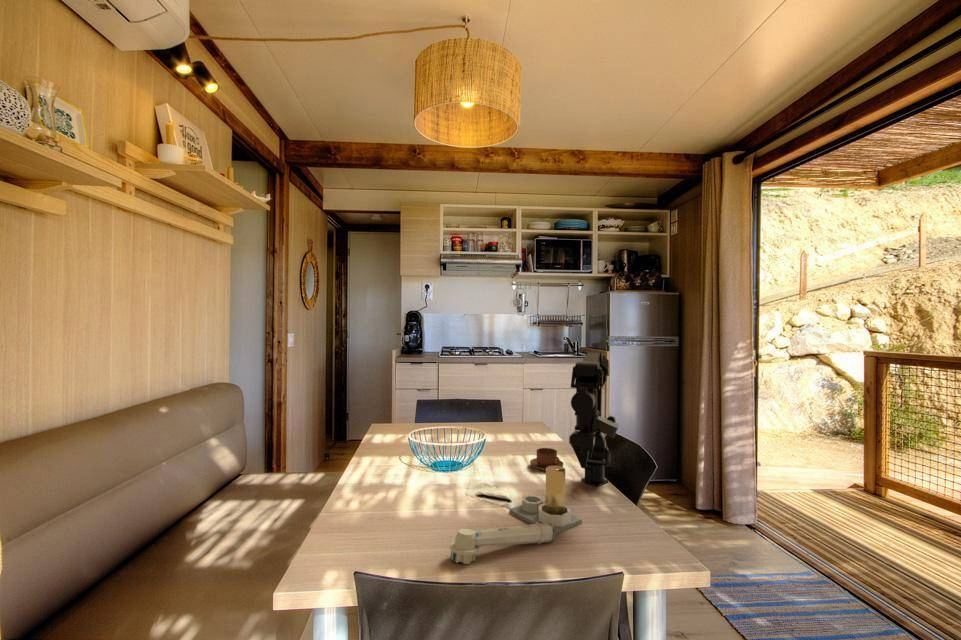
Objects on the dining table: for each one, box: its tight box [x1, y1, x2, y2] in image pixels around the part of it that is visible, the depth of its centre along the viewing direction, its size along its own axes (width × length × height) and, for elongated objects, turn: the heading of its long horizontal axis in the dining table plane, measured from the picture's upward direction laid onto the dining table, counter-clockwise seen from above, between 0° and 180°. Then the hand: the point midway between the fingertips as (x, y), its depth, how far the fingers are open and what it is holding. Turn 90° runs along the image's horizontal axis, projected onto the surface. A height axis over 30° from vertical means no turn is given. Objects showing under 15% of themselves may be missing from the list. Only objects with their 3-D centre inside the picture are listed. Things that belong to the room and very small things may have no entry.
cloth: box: [465, 477, 513, 509], centre depth 132 cm, size 26×14×2 cm, turn 13°
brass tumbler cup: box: [544, 466, 566, 515], centre depth 112 cm, size 5×5×13 cm
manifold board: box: [508, 494, 583, 536], centre depth 114 cm, size 11×16×4 cm
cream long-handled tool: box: [449, 522, 556, 565], centre depth 98 cm, size 5×7×25 cm
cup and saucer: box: [529, 447, 564, 472], centre depth 155 cm, size 12×12×6 cm
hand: (586, 463), depth 120 cm, fingers open, 9 cm apart
